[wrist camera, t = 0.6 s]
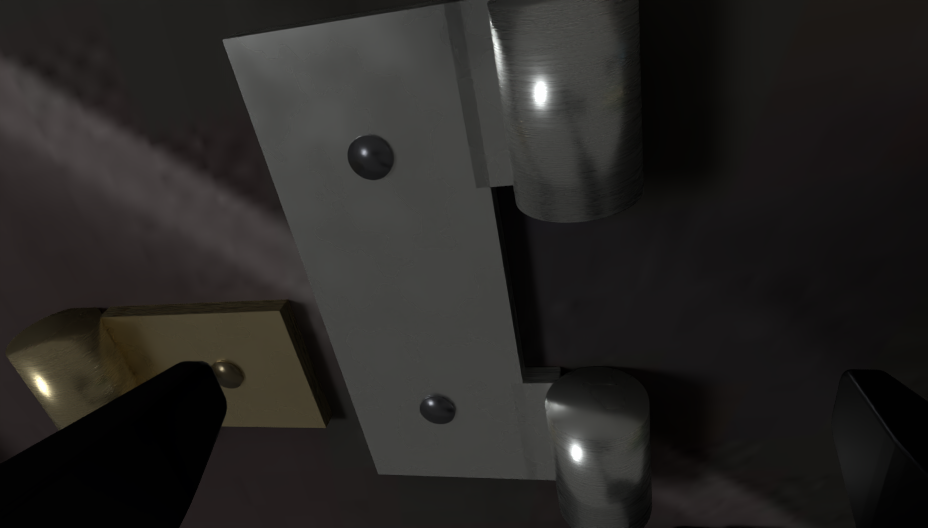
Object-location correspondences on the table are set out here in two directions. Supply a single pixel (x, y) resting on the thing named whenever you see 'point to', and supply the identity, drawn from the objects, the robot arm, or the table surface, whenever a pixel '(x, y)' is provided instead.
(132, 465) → the robot arm
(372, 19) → the steel hinge leaf
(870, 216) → the table surface
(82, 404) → the brass hinge leaf
